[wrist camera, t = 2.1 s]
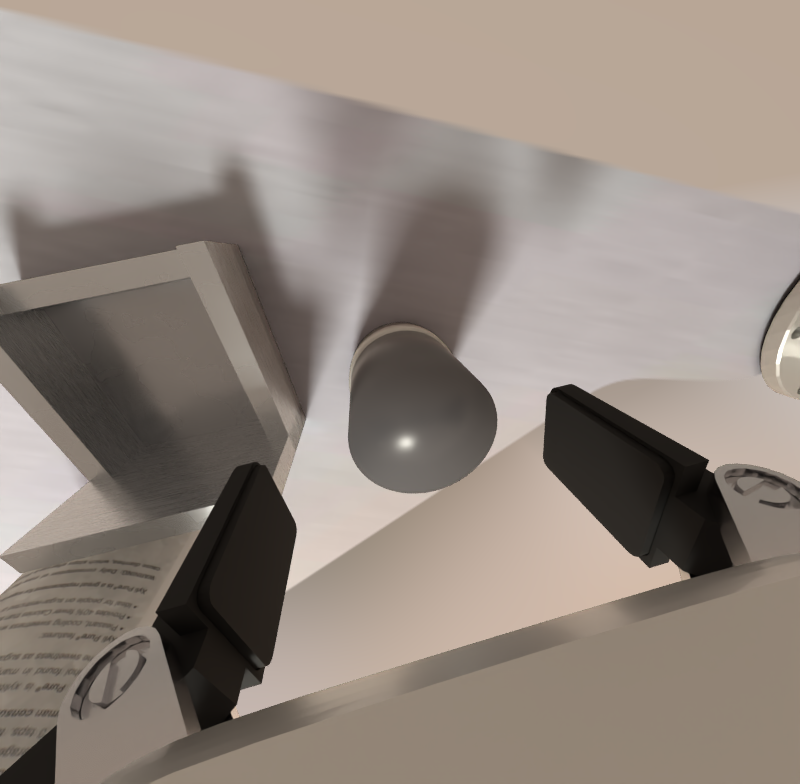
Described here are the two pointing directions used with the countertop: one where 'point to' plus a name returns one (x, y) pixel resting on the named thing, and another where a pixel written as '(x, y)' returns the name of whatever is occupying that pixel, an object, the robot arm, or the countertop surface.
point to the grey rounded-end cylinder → (416, 411)
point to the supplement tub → (72, 628)
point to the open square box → (146, 393)
